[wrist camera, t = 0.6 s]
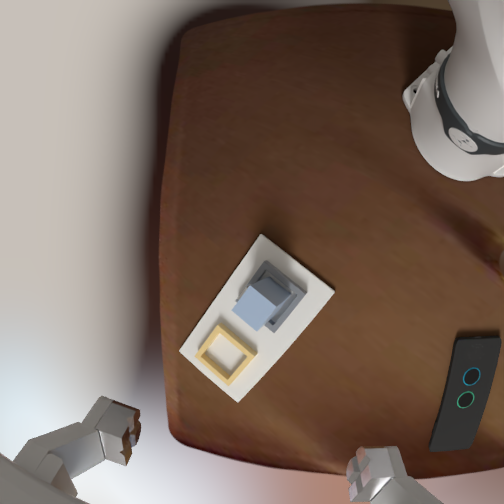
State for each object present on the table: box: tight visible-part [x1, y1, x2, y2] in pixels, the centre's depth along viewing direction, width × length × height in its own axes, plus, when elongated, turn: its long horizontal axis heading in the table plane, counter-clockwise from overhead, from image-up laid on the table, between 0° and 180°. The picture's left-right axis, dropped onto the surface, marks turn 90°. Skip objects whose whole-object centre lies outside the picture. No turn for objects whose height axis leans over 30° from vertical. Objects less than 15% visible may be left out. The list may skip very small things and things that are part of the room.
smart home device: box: [429, 336, 501, 452], centre depth 35 cm, size 8×2×20 cm
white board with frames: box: [179, 234, 335, 402], centre depth 45 cm, size 24×13×2 cm, turn 144°
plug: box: [232, 277, 291, 331], centre depth 41 cm, size 4×5×8 cm
